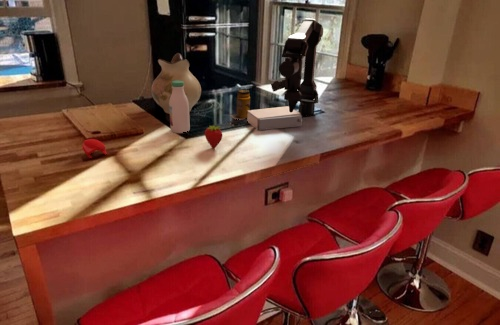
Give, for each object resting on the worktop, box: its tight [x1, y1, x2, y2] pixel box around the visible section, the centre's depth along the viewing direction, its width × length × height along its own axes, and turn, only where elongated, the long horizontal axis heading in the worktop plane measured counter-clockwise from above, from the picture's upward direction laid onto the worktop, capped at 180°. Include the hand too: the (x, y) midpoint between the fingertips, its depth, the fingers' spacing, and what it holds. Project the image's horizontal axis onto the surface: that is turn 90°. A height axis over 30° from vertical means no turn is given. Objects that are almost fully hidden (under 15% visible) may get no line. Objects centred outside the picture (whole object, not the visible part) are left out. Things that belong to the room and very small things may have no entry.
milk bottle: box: [169, 81, 191, 134], centre depth 149 cm, size 8×8×20 cm
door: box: [256, 115, 303, 131], centre depth 156 cm, size 20×2×5 cm, turn 109°
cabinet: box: [246, 105, 301, 130], centre depth 163 cm, size 20×11×5 cm, turn 113°
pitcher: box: [151, 52, 202, 115], centre depth 172 cm, size 22×24×25 cm
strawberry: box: [204, 122, 223, 149], centre depth 135 cm, size 6×8×10 cm
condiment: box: [229, 89, 251, 121], centre depth 168 cm, size 7×8×12 cm
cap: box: [81, 138, 108, 159], centre depth 128 cm, size 8×6×6 cm
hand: (291, 112), depth 148 cm, fingers closed
